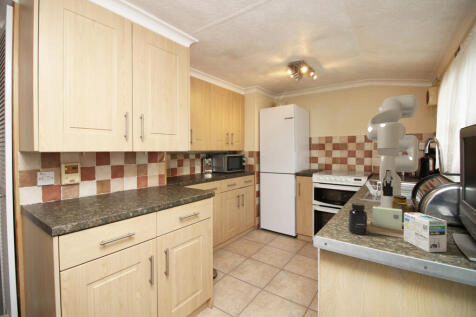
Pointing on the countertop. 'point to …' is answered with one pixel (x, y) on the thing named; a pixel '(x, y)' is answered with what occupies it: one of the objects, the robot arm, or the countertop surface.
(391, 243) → the countertop surface
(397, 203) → the condiment
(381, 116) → the robot arm
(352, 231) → the supplement bottle
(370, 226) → the bottom track
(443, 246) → the light bulb box
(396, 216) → the door panel
